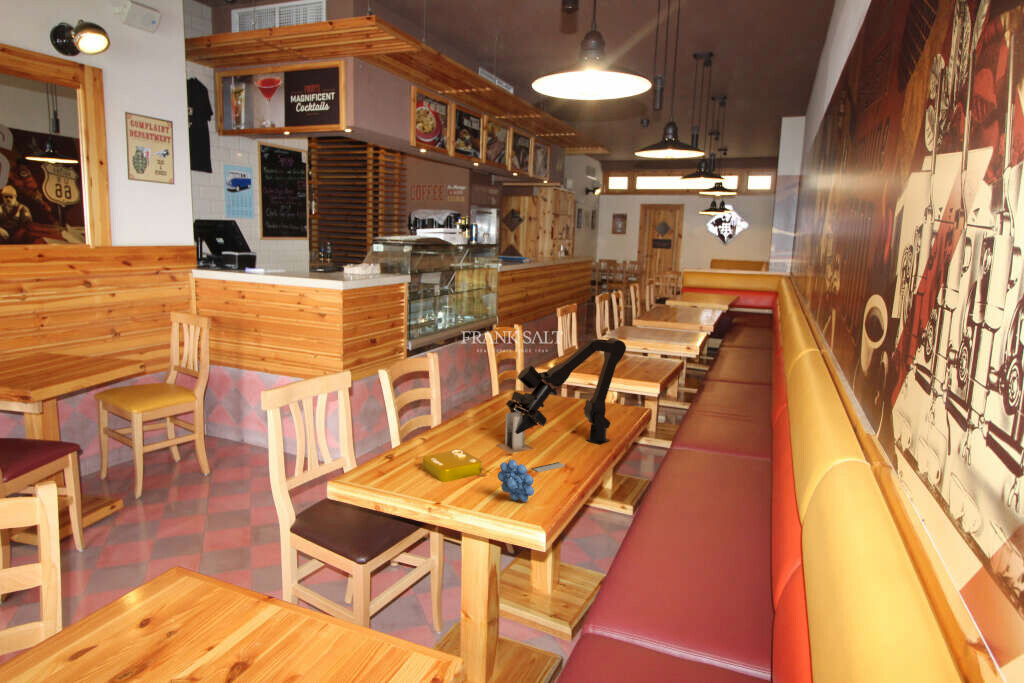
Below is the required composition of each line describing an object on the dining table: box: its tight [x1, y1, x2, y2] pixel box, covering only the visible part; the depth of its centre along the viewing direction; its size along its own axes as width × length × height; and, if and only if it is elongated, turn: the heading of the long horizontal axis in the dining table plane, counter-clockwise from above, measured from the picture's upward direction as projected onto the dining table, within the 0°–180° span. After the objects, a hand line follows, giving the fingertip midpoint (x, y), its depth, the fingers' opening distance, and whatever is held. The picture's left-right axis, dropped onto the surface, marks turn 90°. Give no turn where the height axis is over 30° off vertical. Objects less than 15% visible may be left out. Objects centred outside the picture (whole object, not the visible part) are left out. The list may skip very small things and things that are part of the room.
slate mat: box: [530, 461, 565, 473], centre depth 204 cm, size 11×11×1 cm
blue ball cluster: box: [497, 459, 535, 503], centre depth 173 cm, size 12×7×12 cm, turn 62°
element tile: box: [422, 448, 483, 483], centre depth 197 cm, size 15×15×5 cm
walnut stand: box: [495, 435, 535, 454], centre depth 218 cm, size 10×10×5 cm
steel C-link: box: [504, 411, 526, 450], centre depth 217 cm, size 4×6×12 cm
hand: (511, 430), depth 216 cm, fingers closed on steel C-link, 6 cm apart
